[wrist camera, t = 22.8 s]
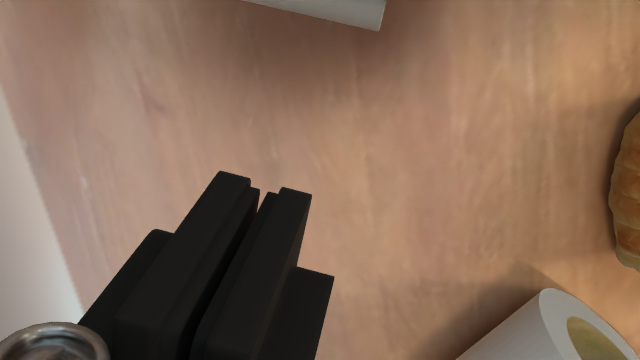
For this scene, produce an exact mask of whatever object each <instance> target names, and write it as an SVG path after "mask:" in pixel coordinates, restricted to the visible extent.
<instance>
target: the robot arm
mask: <svg viewBox="0 0 640 360" xmlns="http://www.w3.org/2000/svg"><path fill="white" fill-rule="evenodd" d="M259 196H260V189H257V188H253V187H251V180H250V178H247V177H243V176H239V175H235V174H232V173H228V172H224V171H219V172H218V173H217V174H216V176H215V177H214V178H213V180H212V181H211V183H210V184H209V185H208V187H207V188H206V190H205V191H204V192H203V194H202V195H201V196H200V198H199V199H198V201H197V202H196V203H195V205H194V206H193V208H192V209H191V210H190V212H189V213H188V215H187V216H186V217H185V219H184V220H183V221H182V223H181V224H180V226H179V227H178V228H177V230H176V231H175V233H170V232H167V231H163V230H159V229H154V230H152V231H151V232H150V233H149V234H148V235H147V236H146V238H145V239H144V240H143V241H142V243H141V244H140V245H139V246H138V248H137V249H136V250H135V252H134V253H133V254H132V255H131V257H130V258H129V259H128V260H127V262H126V263H125V264H124V265H123V267H122V268H121V269H120V270H119V272H118V273H117V274H116V276H115V277H114V278H113V279H112V281H111V282H110V283H109V284H108V286H107V287H106V288H105V289H104V291H103V292H102V293H101V294H100V296H99V297H98V298H97V300H96V301H95V302H94V303H93V305H92V306H91V307H90V308H89V310H88V311H87V312H86V313H85V315H84V316H83V317H82V319H81V320H80V321H79V322H78V324H74V323H69V322H48V323H42V324H37V325H32V326H30V327H27V328H24V329H21V330H19V331H16V332H15V333H13V334H11V335H10V336H8V337H7V338H5V339H4V340H2V341H1V342H0V360H315V355H316V351H317V347H318V343H319V339H320V335H321V331H322V327H323V323H324V319H325V315H326V310H327V306H328V302H329V298H330V294H331V290H332V286H333V282H334V276H330V275H327V274H323V273H319V272H316V271H312V270H308V269H304V268H301V267H297V262H298V257H299V253H300V249H301V244H302V240H303V235H304V231H305V226H306V222H307V217H308V213H309V208H310V204H311V199H312V194H308V193H304V192H300V191H297V190H293V189H289V188H285V187H282V188H281V189H280V191H279V193H278V194H276V193H272V192H268V193H267V194H266V196H265V198H264V200H263V202H262V204H261V206H260V208H259V210H258V212H257V208H258V202H259ZM256 213H257V214H256Z"/></svg>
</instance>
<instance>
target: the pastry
mask: <svg viewBox="0 0 640 360" xmlns="http://www.w3.org/2000/svg"><path fill="white" fill-rule="evenodd" d="M614 165H615V167H614V172H613V174H612V176H611V179H610V180H611V189H610V193H609V197H608V204H609V207H610V208H611V210H612V212H613V214H614V216H613V218H614V223H613V226H614V232H615V236H616V240H617V246H616V257H617V259H618V260H619V261H620V262H621V263H622V264H623V265H625V266H627V267H630V268H634V269H636V270H637V271H638V272H640V111H639V112H638V113H637V114H636V115H635V116H634V118H633V119H632V120H631V122H630V123H629V124H628V125H627V126H626V127H625V129H624V136H623V140H622V142H621V149H620V152H619V154H618V156H617V158H616V160H615V163H614Z"/></svg>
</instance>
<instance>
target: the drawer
mask: <svg viewBox="0 0 640 360" xmlns="http://www.w3.org/2000/svg"><path fill="white" fill-rule="evenodd" d="M242 1H247V2H251V3H255V4H260V5H264V6H269V7H273V8H277V9H282V10H286V11H290V12H295V13H299V14H304V15H308V16H312V17H317V18H321V19H325V20H330V21H334V22H339V23H343V24H347V25H352V26H356V27H361V28H365V29H369V30H374V31H379V30H380V27H381V23H382V19H383V15H384V10H385V6H386V1H387V0H242Z"/></svg>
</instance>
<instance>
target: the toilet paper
mask: <svg viewBox="0 0 640 360" xmlns="http://www.w3.org/2000/svg"><path fill="white" fill-rule="evenodd" d="M455 360H640V358H639V357H638V356H637V355H636V353H635V352H634V351H633V350H632V349H631V348H630V346H629V345H628V344H627V343H626V342H625V341H624V340H623V339H622V338H621V337H620V335H619V334H618V333H617V332H616V331H615V330H614V329H613V328H612V327H611V326H610V325H608V324H607V323H606V322H605V321H604V320H603V319H602V318H601V317H600V316H599V315H597V314H596V313H595V312H594V311H593V310H591V309H590V308H589V307H588V306H586V305H585V304H584V303H582V302H581V301H579V300H578V299H576V298H575V297H573V296H572V295H570V294H568V293H566V292H564V291H562V290H559V289H555V288H546V289H543V290H542V291H541V292H540V293H538V294H537V295H536V296H535V297H533V298H532V299H531V300H530V301H528V302H527V303H526V304H525V305H523V306H522V307H521V308H519V309H518V310H517V311H516V312H514V313H513V314H512V315H511V316H509V317H508V318H507V319H506V320H504V321H503V322H502V323H501V324H499V325H498V326H497V327H496V328H494V329H493V330H492V331H491V332H489V333H488V334H487V335H486V336H484V337H483V338H482V339H480V340H479V341H478V342H477V343H475V344H474V345H473V346H472V347H470V348H469V349H468V350H467V351H465V352H464V353H463V354H462V355H460V356H459V357H458V358H457V359H455Z"/></svg>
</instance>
